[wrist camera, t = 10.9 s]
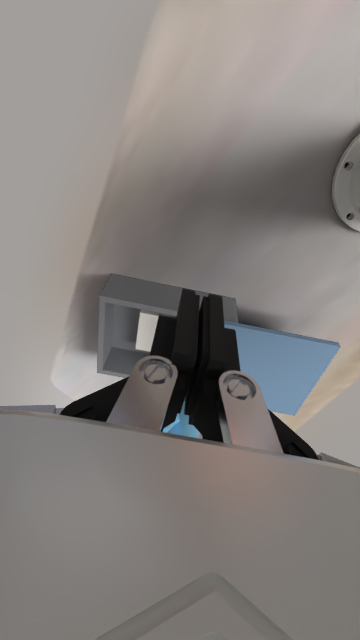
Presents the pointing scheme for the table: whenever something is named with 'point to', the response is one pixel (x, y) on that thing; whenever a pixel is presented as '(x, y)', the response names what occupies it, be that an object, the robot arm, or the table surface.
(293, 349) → the lid
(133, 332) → the base
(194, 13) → the table surface
